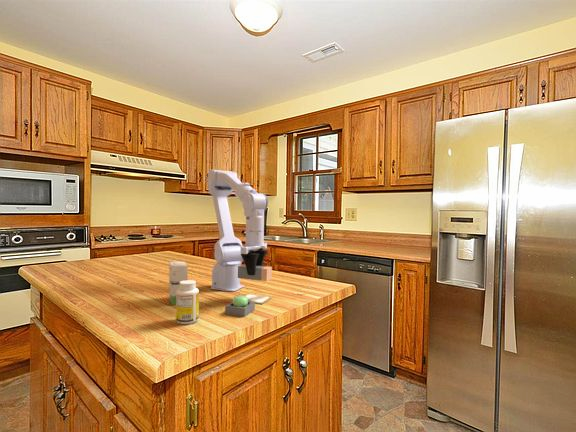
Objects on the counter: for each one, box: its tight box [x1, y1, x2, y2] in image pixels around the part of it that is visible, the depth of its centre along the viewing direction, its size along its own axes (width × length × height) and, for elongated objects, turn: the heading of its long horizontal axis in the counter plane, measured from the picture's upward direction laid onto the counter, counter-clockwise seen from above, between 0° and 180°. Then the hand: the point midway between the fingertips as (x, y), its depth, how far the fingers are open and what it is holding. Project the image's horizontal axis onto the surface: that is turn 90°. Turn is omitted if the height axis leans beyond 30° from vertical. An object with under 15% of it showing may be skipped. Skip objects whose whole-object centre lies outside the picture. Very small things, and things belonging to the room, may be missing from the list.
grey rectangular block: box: [238, 263, 273, 282], centre depth 98 cm, size 10×4×4 cm, turn 69°
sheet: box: [245, 293, 272, 305], centre depth 99 cm, size 9×7×1 cm
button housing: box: [224, 301, 256, 318], centre depth 87 cm, size 6×6×2 cm
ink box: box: [168, 261, 189, 306], centre depth 96 cm, size 9×5×12 cm, turn 26°
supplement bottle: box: [175, 279, 200, 325], centre depth 79 cm, size 6×6×10 cm
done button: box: [232, 295, 248, 308], centre depth 87 cm, size 4×4×3 cm
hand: (254, 273), depth 98 cm, fingers closed on grey rectangular block, 4 cm apart
